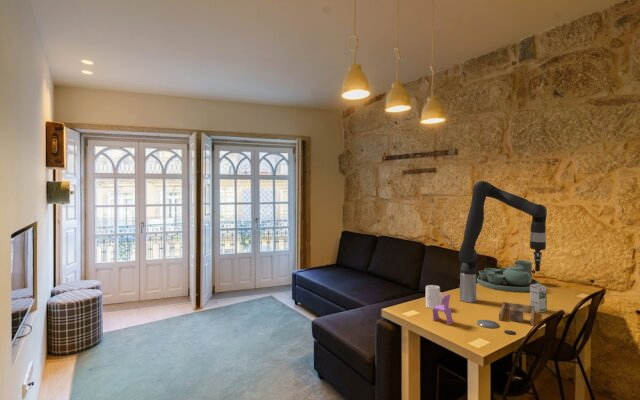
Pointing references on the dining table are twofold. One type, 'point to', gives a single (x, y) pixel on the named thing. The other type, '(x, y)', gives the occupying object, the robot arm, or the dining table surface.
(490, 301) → the dining table surface
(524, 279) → the tea set
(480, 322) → the slate coaster
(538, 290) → the syrup box
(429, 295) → the mug
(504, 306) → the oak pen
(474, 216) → the robot arm
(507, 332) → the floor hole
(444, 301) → the toy chair
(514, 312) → the walnut block
